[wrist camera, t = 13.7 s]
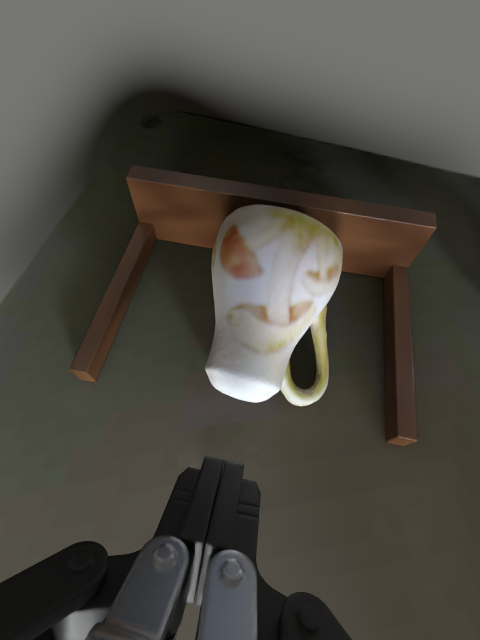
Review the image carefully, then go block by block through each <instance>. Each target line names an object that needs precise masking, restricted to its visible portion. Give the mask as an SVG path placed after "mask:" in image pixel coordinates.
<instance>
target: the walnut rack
mask: <svg viewBox="0 0 480 640" xmlns="http://www.w3.org/2000/svg"><path fill="white" fill-rule="evenodd" d="M126 179H127V183H128V186H129V189H130V193H131V196H132V199H133V203H134V206H135V209H136V213H137V216H138V219H139V223H138V225H137V227H136V230H135V232H134V234H133V236H132V238H131V240H130V242H129V244H128V246H127V249H126V251H125V253H124V255H123V257H122V259H121V261H120V263H119V265H118V268H117V270H116V272H115V274H114V276H113V278H112V280H111V282H110V284H109V287H108V289H107V291H106V293H105V295H104V297H103V299H102V301H101V303H100V306H99V308H98V310H97V312H96V314H95V316H94V318H93V320H92V322H91V325H90V327H89V329H88V331H87V333H86V335H85V337H84V339H83V341H82V343H81V346H80V348H79V350H78V352H77V354H76V356H75V358H74V360H73V362H72V365H71V367H70V371H71V372H72V373H73V374H75V375H76V376H77V377H78V378H79V379H81V380H86V381H90V382H96V381H97V378H98V376H99V373H100V371H101V369H102V366H103V364H104V362H105V359H106V357H107V355H108V352H109V350H110V348H111V345H112V343H113V340H114V338H115V336H116V333H117V331H118V329H119V326H120V324H121V322H122V319H123V317H124V315H125V312H126V310H127V308H128V305H129V303H130V300H131V298H132V296H133V293H134V291H135V289H136V286H137V284H138V282H139V279H140V277H141V275H142V272H143V270H144V267H145V265H146V263H147V260H148V258H149V256H150V253H151V251H152V249H153V246H154V244H155V242H156V239H160V240H166V241H171V242H177V243H183V244H189V245H194V246H200V247H206V248H212V249H213V246H214V242H215V239H216V237H217V234H218V232H219V230H220V227H221V225H222V223H223V222H224V220H225V219H226V217H227V216H229V215H230V214H231V213H233V212H234V211H235V210H237V209H238V208H241V207H244V206H249V205H257V204H259V205H269V206H276V207H282V208H287V209H291V210H294V211H297V212H300V213H303V214H306V215H308V216H310V217H312V218H314V219H316V220H318V221H319V222H321V223H322V224H324V225H325V226H326V227H328V228H329V229H330V230H331V231H332V232H333V233H334V234H335V235H336V236H337V238H338V239H339V241H340V242H341V245H342V249H343V260H342V269H341V271H344V272H349V273H355V274H361V275H367V276H372V277H378V278H384V324H385V392H386V442H388V443H392V444H396V445H401V446H406V445H408V444H411V443H413V442H416V441H417V440H418V436H417V419H416V402H415V385H414V368H413V351H412V334H411V317H410V300H409V283H408V267H409V265H410V264H411V262H412V261H413V260H414V258H415V257H416V256H417V254H418V253H419V252H420V250H421V249H422V247H423V246H424V245H425V243H426V242H427V241H428V239H429V238H430V236H431V235H432V234H433V232H434V231H435V230H436V228H437V225H436V217H435V213H431V212H425V211H418V210H412V209H406V208H400V207H393V206H387V205H381V204H375V203H368V202H362V201H356V200H350V199H343V198H337V197H331V196H325V195H318V194H312V193H306V192H299V191H293V190H287V189H281V188H274V187H268V186H262V185H256V184H249V183H243V182H237V181H231V180H224V179H218V178H212V177H205V176H199V175H193V174H187V173H180V172H174V171H168V170H162V169H155V168H149V167H143V166H137V165H132V167H131V169H130V171H129V173H128V174H127V176H126Z"/></svg>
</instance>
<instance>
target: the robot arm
mask: <svg viewBox="0 0 480 640" xmlns="http://www.w3.org/2000/svg"><path fill="white" fill-rule="evenodd" d="M223 464H224V460H223V459H218V458H213V457H209V456H205V458H204V461H203V464H202V467H201V470H199V469H194V468H189V467H188V468H187V469H186V470H185V471H184V472H182V473H181V474H180V475H179V476H178V479H177V481H176V484H175V486H174V489H173V491H172V494H171V496H170V499H169V501H168V503H167V506H166V508H165V511H164V513H163V515H162V518H161V520H160V523H159V525H158V528H157V530H156V532H155V535H154V537H153V538H152V539H151V540H149V541H148V542H147V543H146V544H145V545H144V546H143V548H142V549H140V550H139V551H136V552H134V553H131V554H125V555H115V556H108V554H107V551H106V549H105V548H104V547H103V546H102V545H101V544H99V543H96V542H93V541H83V542H78V543H75V544H73V545H71V546H69V547H67V548H65V549H63V550H61V551H59V552H57V553H56V554H54V555H52V556H50V557H48V558H46V559H44V560H42V561H41V562H39V563H37V564H35V565H33V566H31V567H29V568H28V569H26V570H24V571H22V572H20V573H18V574H16V575H14V576H13V577H11V578H9V579H7V580H5V581H3V582H1V583H0V640H175V639H176V636H177V632H178V628H179V626H180V624H181V621H182V617H183V613H184V609H185V605H186V603H190V604H194V599H195V595H196V591H197V586H198V582H199V587H198V593H197V599H196V605H199V606H201V609H200V614H199V620H198V626H197V632H196V638H195V640H351V638H350V637H349V635H348V634H347V633H346V631H345V630H344V629H343V627H342V626H341V625H340V623H339V622H338V621H337V619H336V618H335V616H334V615H333V614H332V612H331V611H330V610H329V608H328V607H327V606H326V605H325V604H324V603H323V602H322V601H321V600H320V599H319V598H317V597H316V596H314V595H312V594H309V593H305V592H297V593H294V594H291V595H290V596H289V597H288V598H287V597H286V596H284V595H283V594H281V593H279V592H278V591H276V590H274V589H273V588H272V587H270V586H269V585H268V584H267V583H266V582H265V581H264V580H263V578H262V577H261V575H260V573H259V571H258V568H257V564H256V551H257V537H258V523H259V510H260V508H259V507H260V496H261V493H260V491H259V488H258V486H257V483H256V482H255V481H250V480H246V479H242V476H243V469H244V464H242V463H237V462H233V461H228V460H225V464H224V469H223ZM222 470H223V473H222ZM221 476H222V477H221ZM200 573H201V575H200ZM199 578H200V581H199Z"/></svg>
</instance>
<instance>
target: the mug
mask: <svg viewBox="0 0 480 640" xmlns="http://www.w3.org/2000/svg"><path fill="white" fill-rule="evenodd" d="M342 260H343V249H342V245H341V242H340V241H339V239H338V238H337V236H336V235H335V234H334V233H333V232H332V231H331V230H330V229H329V228H328V227H326V226H325V225H324V224H322V223H321V222H319V221H318V220H316V219H314V218H312V217H310V216H308V215H306V214H303V213H300V212H297V211H294V210H291V209H287V208H282V207H276V206H269V205H259V204H257V205H249V206H244V207H241V208H238V209H237V210H235V211H234V212H233V213H231V214H230V215H229V216H227V217H226V219H225V220H224V222H223V223H222V225H221V227H220V230H219V232H218V234H217V237H216V239H215V242H214V246H213V251H212V264H211V270H212V283H213V295H214V304H215V322H216V325H215V333H214V338H213V343H212V347H211V351H210V354H209V357H208V360H207V363H206V366H205V370H206V372H207V375H208V377H209V380H210V382H211V384H212V385H213V386H214V387H215V388H216V389H217V390H219V391H221V392H222V393H224V394H227V395H229V396H231V397H234V398H236V399H240V400H244V401H249V402H261V401H265V400H267V399H269V398H270V397H272V396H273V395H274V394H276V393H277V392H279V390H281V392H282V393H283V395H284V396H285V398H286V399H287V400H288V401H289V402H291V403H292V404H294V405H296V406H306V405H309V404H311V403H313V402H315V401H317V400H318V399H319V398H320V397H321V396H322V395H323V393H324V391H325V389H326V387H327V385H328V379H329V359H328V350H327V332H326V312H327V303H328V301H329V300H330V298H331V296H332V294H333V292H334V291H335V289H336V287H337V284H338V281H339V278H340V274H341V269H342ZM309 327H311V334H312V338H313V343H314V349H315V355H316V377H315V382H314V384H313V386H312V387H310V388H309V389H301V388H299V387H297V386H296V385H295V384H294V382H293V381H292V378H291V374H290V362H289V359H290V356H291V354H292V352H293V350H294V348H295V346H296V344H297V343H298V341H299V340H300V339H301V337H302V336H303V334H304V333H305V332H306V330H307V329H308V328H309Z"/></svg>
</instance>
